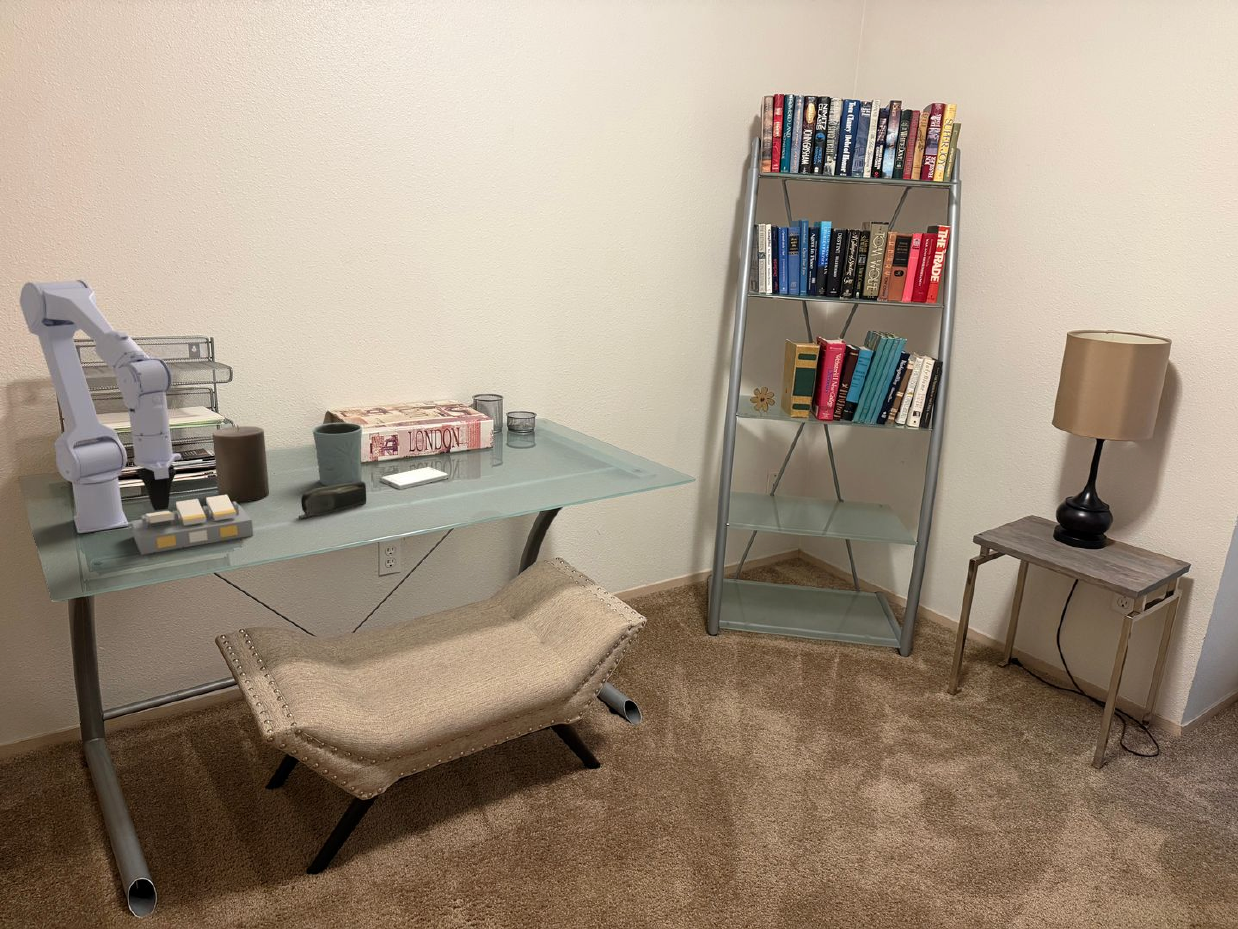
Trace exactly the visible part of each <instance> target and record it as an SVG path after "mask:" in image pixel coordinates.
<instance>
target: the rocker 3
mask: <svg viewBox="0 0 1238 929" xmlns="http://www.w3.org/2000/svg"><path fill="white" fill-rule="evenodd" d="M205 502H206V504H207V505H206V506H207V507H208V508H209V509H210V511H211V513H212V516H213V518H214V520H215V521H216V520H222V519H229V518H235V517H236V511H235V509H234V507H233V502H231V501H230V499H229V497H228V495H221V496H219V495H216V496H208V497H205Z"/></svg>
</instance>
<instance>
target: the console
mask: <svg viewBox="0 0 1238 929" xmlns="http://www.w3.org/2000/svg"><path fill="white" fill-rule="evenodd" d="M232 505H233V507H234V509H235V511H236V517H235V518H229V519H222V520H216V521H215V520H214V518H213V516H212V513H211V511H210V509H209V507H208V505H203V506H202V509H203V512H204V514H205V516H206V522H204V523H197V524H191V525H185V526H184V524H183V522H182V520H181V517H180V515H179V512H178V510H177V509H176V510H172V513H173V514H174V520H168V521H161V522H155V523H150V522H149V521H148V520H146V514H142V515H141V519H135V520H134V519H133V520H131V527H132V528H131V529H132V536H133V539H134V541H135V544H136V546H137V549H138V551H139V553H140V555H147V554H154V552H155V553H160V552H165V551H171V550H177V548H178V549H183V547H184V548H190V547H194V546H201V545H205V544H207V545H208V544H210V543H218V542H223V541H228V540H235V539H241V538H242V539H243V538H247V537H252V536H254V531H253V529H254V528H253V520H252V518H251V517H250V516H249V514H247V512H246V511H245V510H244V509H243V508H242V506H241V505H240V504H238V502H236V501H235V502H232Z"/></svg>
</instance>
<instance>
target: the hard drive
mask: <svg viewBox="0 0 1238 929" xmlns="http://www.w3.org/2000/svg"><path fill="white" fill-rule="evenodd" d="M447 478H448V479H449V474H448V473H446V472H444V471H441V470H438V469H435V468H433V467H430V466H427V467H423V468H418V469H412V470H408V471H407V470H406V471H404V472H400V473H399V472H398V473H395V474H389V475H385V476H381V477H379V482H381V483H384V484H386V485H389V486H390V485H391V487H393V488H396V489H397V488H398V489H397V490H404V488H405V489H409V488H413V487H412V486H414V487H416V486H415V485H418V486H421V485H427V484H431V483H430V482H432V483H434V482H433V481H436V480H440V479H445V480H448V479H447ZM436 482H437V481H436ZM408 487H409V488H408Z"/></svg>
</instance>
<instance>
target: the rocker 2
mask: <svg viewBox="0 0 1238 929" xmlns="http://www.w3.org/2000/svg"><path fill="white" fill-rule="evenodd" d="M175 505H176V506H175V507H176V511H177V512H178V514H179V515H180V517H181V520H182V522H183V524H184V526H185V525H191V524H197V523H204V522H206V516H205V514H204V512H203V506H201V503H200V501H199V499H198V498H194V499H187V500H179V501H175Z"/></svg>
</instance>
